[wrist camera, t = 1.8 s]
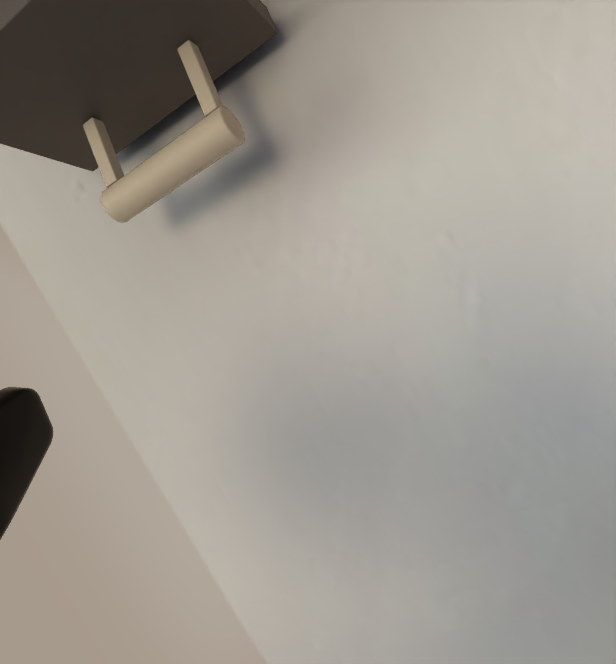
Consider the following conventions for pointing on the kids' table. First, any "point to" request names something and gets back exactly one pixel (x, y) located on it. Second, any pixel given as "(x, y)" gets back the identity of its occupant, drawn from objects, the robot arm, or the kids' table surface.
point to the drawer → (123, 84)
